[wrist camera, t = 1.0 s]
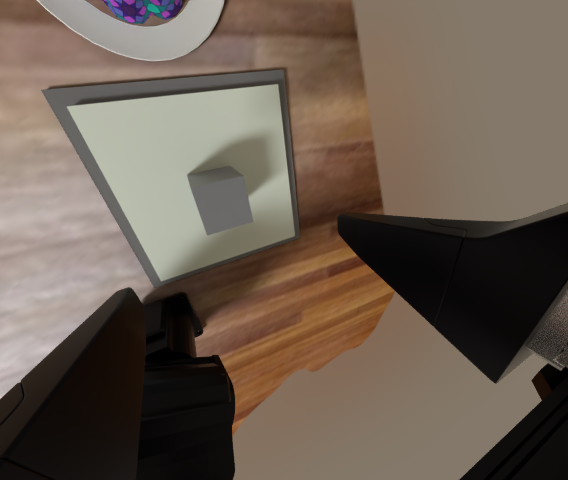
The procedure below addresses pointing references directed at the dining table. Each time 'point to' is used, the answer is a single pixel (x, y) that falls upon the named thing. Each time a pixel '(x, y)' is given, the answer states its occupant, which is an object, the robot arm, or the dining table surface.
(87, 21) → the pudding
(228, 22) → the dining table surface
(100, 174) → the mat
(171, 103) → the lid
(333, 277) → the dining table surface
